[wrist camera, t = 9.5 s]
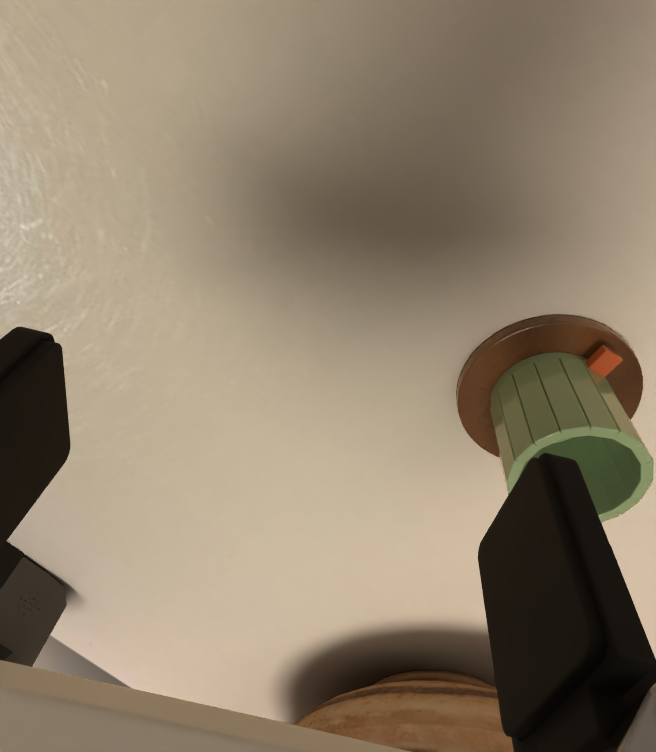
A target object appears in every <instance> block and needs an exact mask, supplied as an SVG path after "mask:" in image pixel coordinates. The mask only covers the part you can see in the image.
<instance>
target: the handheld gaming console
mask: <svg viewBox="0 0 656 752" xmlns="http://www.w3.org/2000/svg"><path fill="white" fill-rule="evenodd" d="M23 554H24V553H22V552H21V551H19V550H18V549H16V548H15V547H14V546H12V545H11V544H9V543H8V542H5V543H4V545H3V546H2V547H1V549H0V660H3V661H7V662H12V663H16V664H21V665H26V666H30V667H32V665H33V664H34V662H35V660H36V658H37V657H38V655H39V653H40V651H41V649H42V648H43V646H44V644H45V642H46V641H47V639H48V637H49V635H50V634H51V632H52V630H53V628H54V627H55V625H56V623H57V621H58V620H59V618H60V616H61V614H62V612H63V611H64V609H65V607H66V605H67V604H66V592H65V588H64V587H63V586H62V585H61V584H59V583H58V582H57V581H56V580H55V579H54V578H53V577H52V576H50V575H49V574H48V573H47V572H45V571H44V570H42V569H41V568H39V567H38V566H36V565H35V564H34V563H32V562H31V561H29V560H28V559H26V558H25V557H23V556H22V555H23Z"/></svg>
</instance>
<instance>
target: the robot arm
mask: <svg viewBox="0 0 656 752" xmlns="http://www.w3.org/2000/svg"><path fill="white" fill-rule="evenodd" d="M69 451H70V435H69V423H68V412H67V400H66V389H65V377H64V365H63V354H62V347H61V345H60V344H58V343H55V341H54V338H53V336H52V335H51V334H49V333H45V332H41V331H37V330H33V329H29V328H25V327H16V328H14V329H13V330H12V331H10V332H9V333H8V334H7V335H5V336H4V337H3V338H2V339H0V549H1V547H2V546H3V545H4V543H5V542H6V541H7V539H8V538H9V537H10V535H11V534H12V533H13V531H14V530H15V529H16V527H17V526H18V525H19V523H20V522H21V521H22V519H23V518H24V516H25V515H26V514H27V512H28V511H29V510H30V508H31V507H32V506H33V504H34V503H35V502H36V500H37V499H38V498H39V496H40V495H41V494H42V492H43V491H44V490H45V488H46V487H47V486H48V484H49V483H50V482H51V480H52V479H53V478H54V476H55V475H56V474H57V472H58V471H59V470H60V468H61V467H62V466H63V464H64V463H65V461H66V459H67V457H68V455H69ZM478 562H479V569H480V576H481V583H482V590H483V597H484V604H485V611H486V618H487V625H488V632H489V639H490V646H491V653H492V661H493V668H494V675H495V682H496V689H497V696H498V703H499V710H500V717H501V724H502V728H503V731H504V733H505V734H506V736H508V737H511V738H512V745H513V751H514V752H656V659H655V657H654V654H653V652H652V649H651V647H650V644H649V642H648V639H647V636H646V634H645V631H644V629H643V626H642V624H641V621H640V619H639V616H638V614H637V611H636V609H635V606H634V604H633V601H632V598H631V596H630V593H629V591H628V588H627V586H626V583H625V581H624V578H623V576H622V573H621V571H620V568H619V566H618V563H617V560H616V558H615V555H614V553H613V550H612V548H611V546H610V544H609V542H608V539H607V536H606V534H605V531H604V529H603V526H602V524H601V521H600V519H599V516H598V514H597V511H596V509H595V506H594V503H593V501H592V498H591V496H590V493H589V491H588V488H587V486H586V483H585V481H584V478H583V475H582V473H581V470H580V468H579V465H578V464H577V462H576V461H575V460H574V459H570V458H566V457H562V456H558V455H554V454H549V453H543V454H542V455H540V457H539V458H532V459H530V460H529V462H528V463H527V465H526V467H525V468H524V470H523V472H522V473H521V475H520V477H519V478H518V480H517V482H516V484H515V485H514V487H513V489H512V490H511V492H510V494H509V495H508V497H507V499H506V500H505V502H504V504H503V506H502V507H501V509H500V511H499V512H498V514H497V516H496V517H495V519H494V521H493V522H492V524H491V526H490V527H489V529H488V531H487V533H486V534H485V536H484V538H483V539H482V541H481V543H480V546H479V551H478ZM0 752H411V751H406V750H402V749H398V748H393V747H389V746H384V745H380V744H376V743H371V742H367V741H363V740H358V739H354V738H349V737H345V736H341V735H336V734H332V733H328V732H323V731H319V730H314V729H310V728H306V727H301V726H297V725H292V724H288V723H283V722H279V721H274V720H270V719H266V718H261V717H257V716H252V715H248V714H243V713H239V712H234V711H230V710H225V709H221V708H216V707H212V706H207V705H203V704H198V703H194V702H189V701H185V700H180V699H176V698H171V697H167V696H162V695H158V694H153V693H149V692H144V691H140V690H135V689H131V688H126V687H122V686H117V685H112V684H108V683H103V682H99V681H94V680H90V679H85V678H81V677H76V676H71V675H67V674H62V673H57V672H53V671H48V670H44V669H39V668H34V667H30V666H26V665H21V664H16V663H12V662H7V661H3V660H0Z"/></svg>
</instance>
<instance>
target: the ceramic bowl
mask: <svg viewBox="0 0 656 752" xmlns="http://www.w3.org/2000/svg"><path fill="white" fill-rule="evenodd" d="M295 725H297V726H301V727H306V728H310V729H314V730H319V731H323V732H328V733H332V734H336V735H341V736H345V737H349V738H354V739H358V740H363V741H367V742H371V743H376V744H380V745H384V746H389V747H393V748H398V749H402V750H406V751H411V752H514V751H513V745H512V738H511V737H508V736H506V734H505V733H504V731H503V728H502V724H501V717H500V710H499V703H498V696H497V689H496V688H495V687H494V686H492V685H490V684H489V683H487V682H484V681H482V680H480V679H477V678H474V677H471V676H468V675H464V674H459V673H454V672H447V671H437V670H421V671H410V672H405V673H399V674H396V675H392V676H389V677H386V678H384V679H382V680H380V681H378V682H377V683H375V684H374V685H372V686H368V687H364V688H361V689H357V690H354V691H351V692H348V693H345V694H341V695H339V696H337V697H334V698H332V699H330V700H328V701H326V702H324V703H322V704H321V705H319V706H317V707H315V708H314V709H312V710H311V711H310V712H309V713H307V714H306V715H305V716H303V717H302V718H301V719H300V720H299V721H298V722H297V723H296V724H295Z"/></svg>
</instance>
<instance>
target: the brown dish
mask: <svg viewBox="0 0 656 752" xmlns="http://www.w3.org/2000/svg"><path fill="white" fill-rule="evenodd" d="M602 345H605V346H607V347H608V348H610V349H612V350H613V351H615V352H617V353H618V354H619V355H620V356H621V358H622V362H621V363H620V364H618V365H617V366H616V367H615V368H614V369H613V370H612V371H611V372H610V373H609V374H608V375H607V376H606V378H607V380H608V382H609V384H610V385H611V387H612V388H613V390H614V392H615V394H616V395H617V397H618V399H619V401H620V402H621V404H622V406H623V408H624V409H625V411H626V413H627V415H628V416H629V418H630V420H631V418H632V417H633V415H634V414H635V412H636V410H637V408H638V405H639V402H640V400H641V395H642V390H643V376H642V371H641V367H640V364H639V362H638V359H637V358H636V356H635V354H634V353H633V351H632V350H631V348H630V347H629V345H628V344H627V343H626V342H625V341H624V340H623V338H622V337H621V336H619V335H618V334H617V333H616V332H614V331H613V330H612V329H610V328H608V327H607V326H605V325H603V324H601V323H598V322H596V321H593V320H590V319H586V318H582V317H576V316H569V315H551V316H542V317H537V318H532V319H528V320H525V321H522V322H518V323H516V324H514V325H511V326H509V327H507V328H505V329H503V330H501V331H500V332H498V333H496V334H494V335H493V336H492V337H490V338H489V339H488V340H486V341H485V342H484V343H483V344H482V345H481V346H480V347H479V348H478V349H477V350H476V351H475V352H474V353H473V354H472V356H471V357H470V358H469V360H468V361H467V363H466V365H465V366H464V368H463V370H462V373H461V375H460V378H459V382H458V386H457V406H458V412H459V416H460V420H461V422H462V424H463V427H464V428H465V430H466V432H467V433H468V434H469V436H470V437H471V438H472V439H473V440H474V441H475V442H476V443H477V444H478V445H479V446H480V447H482V448H483V449H485V450H486V451H488V452H489V453H491V454H493V455H495V456H497V457H500V455H499V451H498V446H497V442H496V437H495V433H494V429H493V424H492V418H491V413H490V407H489V402H490V396H491V392H492V390H493V387H494V385H495V384H496V382H497V381H498V379H499V378H500V377H501V376H502V374H504V373H505V372H506V371H507V370H508V369H509V368H510V367H512V366H513V365H515V364H516V363H518V362H520V361H522V360H524V359H526V358H529V357H532V356H534V355H538V354H543V353H550V352H563V353H570V354H575V355H578V356H581V357H584V358H586V359H589V358H590V357H591V356H592V355H593V354H594V353H595V352H596V351H597V350H598V349H599V348H600V347H601V346H602Z"/></svg>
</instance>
